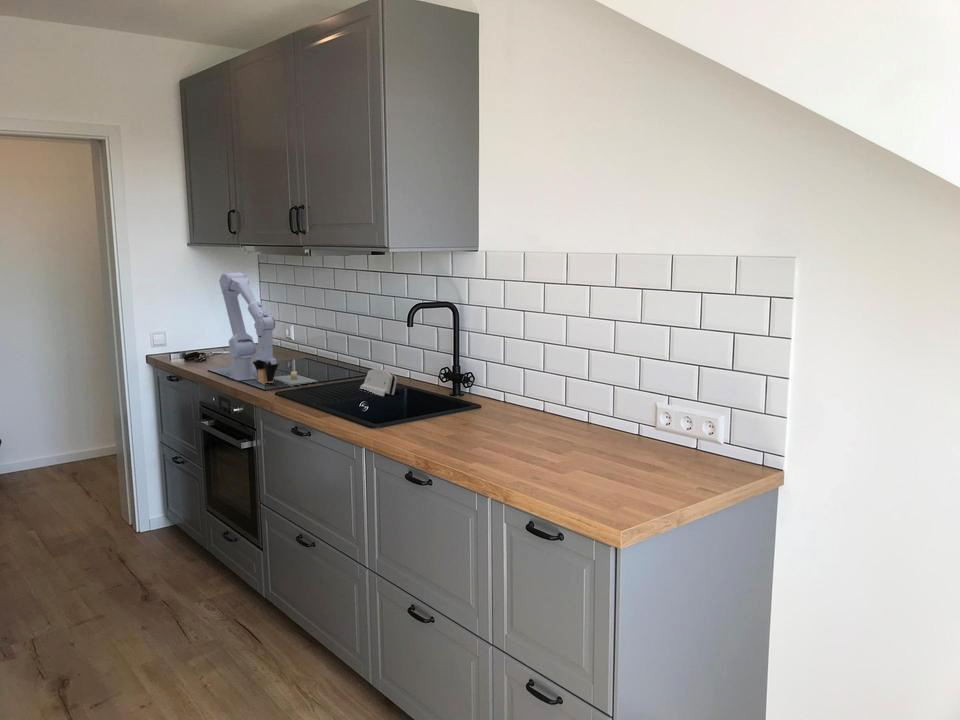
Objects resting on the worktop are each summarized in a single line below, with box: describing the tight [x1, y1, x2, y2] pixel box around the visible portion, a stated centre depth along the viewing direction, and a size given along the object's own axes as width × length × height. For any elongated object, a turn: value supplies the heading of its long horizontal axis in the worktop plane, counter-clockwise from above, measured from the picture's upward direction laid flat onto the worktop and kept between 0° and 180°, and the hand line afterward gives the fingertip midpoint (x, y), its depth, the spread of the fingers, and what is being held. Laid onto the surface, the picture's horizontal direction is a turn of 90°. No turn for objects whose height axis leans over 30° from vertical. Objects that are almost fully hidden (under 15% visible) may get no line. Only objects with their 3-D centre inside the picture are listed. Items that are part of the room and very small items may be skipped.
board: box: [274, 370, 319, 387], centre depth 326 cm, size 18×12×4 cm, turn 42°
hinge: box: [359, 368, 398, 397], centre depth 309 cm, size 17×5×10 cm, turn 42°
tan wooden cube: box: [257, 369, 275, 385], centre depth 321 cm, size 5×5×6 cm
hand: (265, 379), depth 321 cm, fingers open, 7 cm apart
